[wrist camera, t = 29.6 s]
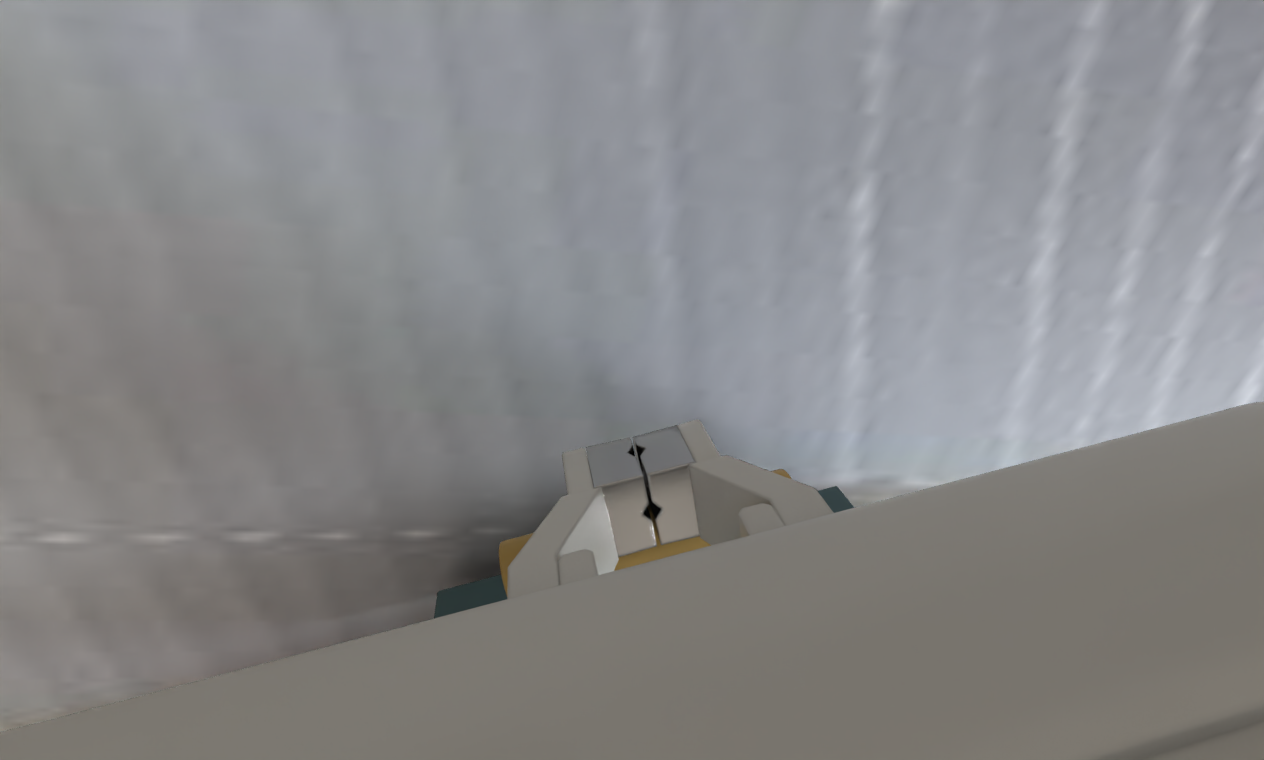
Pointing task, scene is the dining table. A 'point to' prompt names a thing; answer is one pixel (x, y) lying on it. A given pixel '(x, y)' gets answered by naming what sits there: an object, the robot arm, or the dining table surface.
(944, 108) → the dining table surface
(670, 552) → the drawer
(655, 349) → the dining table surface
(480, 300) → the dining table surface
